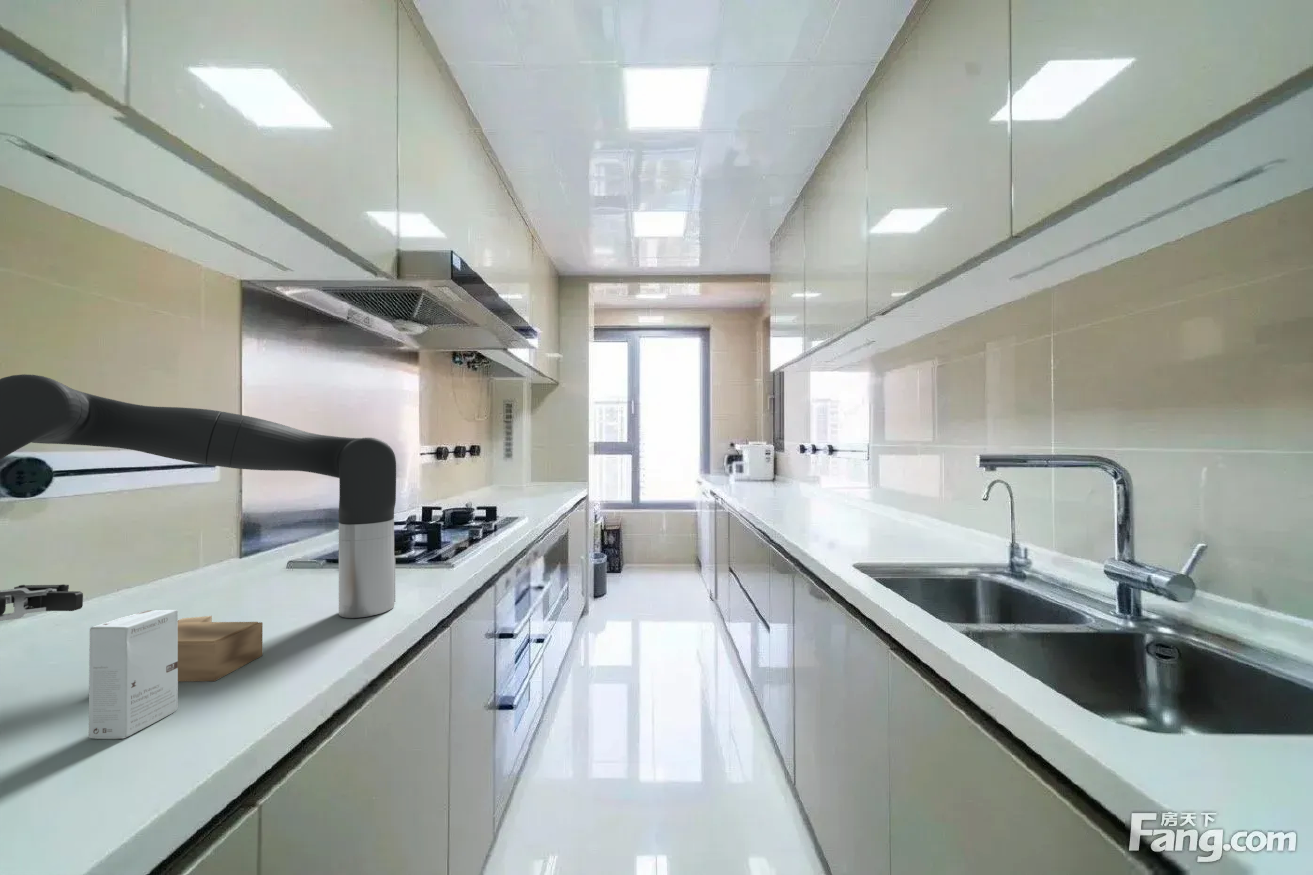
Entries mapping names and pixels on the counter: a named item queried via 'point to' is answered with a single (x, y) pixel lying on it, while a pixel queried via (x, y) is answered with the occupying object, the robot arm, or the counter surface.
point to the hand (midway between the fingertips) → (35, 612)
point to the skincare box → (132, 673)
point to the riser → (216, 648)
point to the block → (196, 619)
